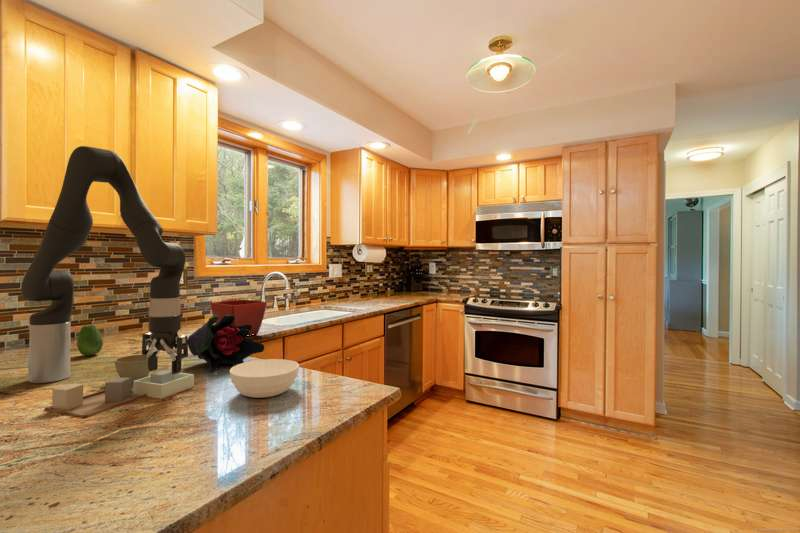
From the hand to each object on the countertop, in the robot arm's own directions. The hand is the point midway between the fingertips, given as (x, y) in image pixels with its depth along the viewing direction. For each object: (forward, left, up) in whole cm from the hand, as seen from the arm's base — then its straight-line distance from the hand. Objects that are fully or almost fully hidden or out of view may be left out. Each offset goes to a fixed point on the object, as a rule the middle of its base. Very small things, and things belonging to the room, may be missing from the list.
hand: (164, 371), depth 105 cm
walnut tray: (-7, -12, -6) cm, 15 cm away
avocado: (-62, +21, -6) cm, 66 cm away
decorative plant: (-3, +27, -6) cm, 28 cm away
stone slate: (0, 0, -5) cm, 5 cm away
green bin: (0, 0, -6) cm, 6 cm away
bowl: (+27, +9, -6) cm, 29 cm away
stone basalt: (-5, -9, -5) cm, 11 cm away
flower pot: (-16, +4, -6) cm, 18 cm away
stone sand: (-11, -17, -5) cm, 21 cm away
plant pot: (-38, +73, -6) cm, 83 cm away
